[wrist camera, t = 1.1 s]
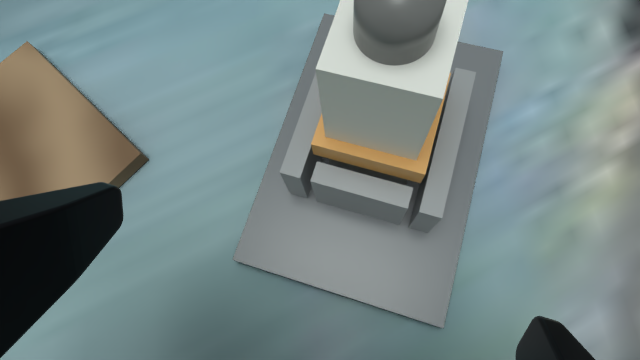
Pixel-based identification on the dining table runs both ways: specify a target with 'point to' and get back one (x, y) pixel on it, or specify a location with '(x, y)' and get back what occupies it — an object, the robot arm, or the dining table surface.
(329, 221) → the socket panel
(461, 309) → the dining table surface
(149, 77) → the dining table surface
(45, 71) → the pad
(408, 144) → the plug
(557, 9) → the dining table surface
